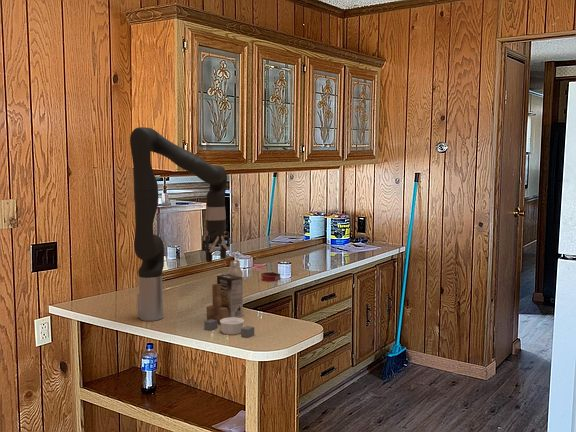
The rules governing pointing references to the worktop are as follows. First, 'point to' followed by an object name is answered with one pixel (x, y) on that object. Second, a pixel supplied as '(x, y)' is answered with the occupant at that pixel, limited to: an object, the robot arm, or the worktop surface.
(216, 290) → the stepped wooden block
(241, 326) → the ramekin
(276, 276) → the red and clear container
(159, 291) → the robot arm
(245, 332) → the slate blocks
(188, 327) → the worktop surface
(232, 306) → the coffee box
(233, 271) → the plastic bottle
